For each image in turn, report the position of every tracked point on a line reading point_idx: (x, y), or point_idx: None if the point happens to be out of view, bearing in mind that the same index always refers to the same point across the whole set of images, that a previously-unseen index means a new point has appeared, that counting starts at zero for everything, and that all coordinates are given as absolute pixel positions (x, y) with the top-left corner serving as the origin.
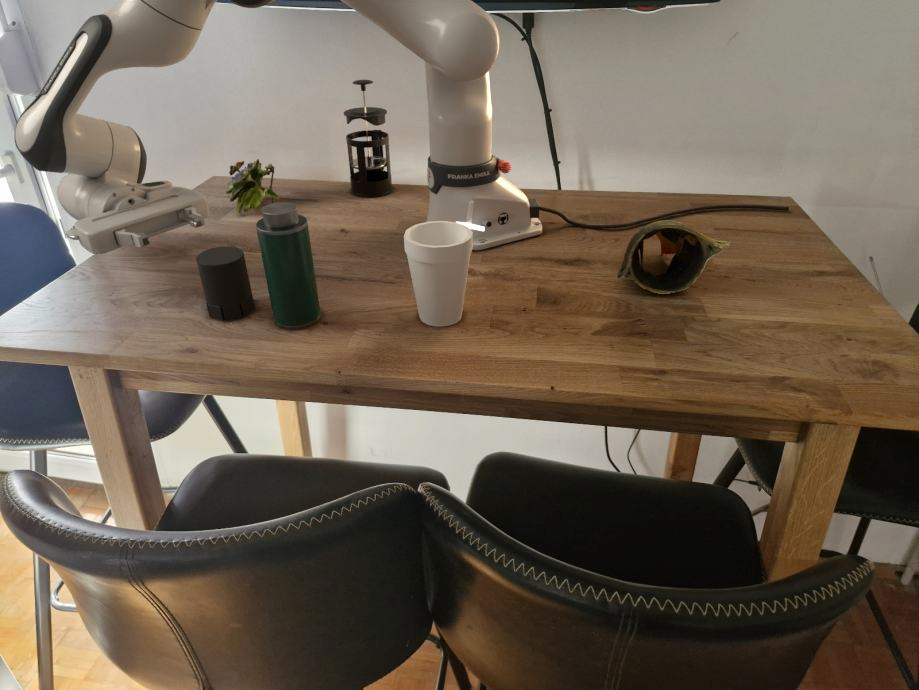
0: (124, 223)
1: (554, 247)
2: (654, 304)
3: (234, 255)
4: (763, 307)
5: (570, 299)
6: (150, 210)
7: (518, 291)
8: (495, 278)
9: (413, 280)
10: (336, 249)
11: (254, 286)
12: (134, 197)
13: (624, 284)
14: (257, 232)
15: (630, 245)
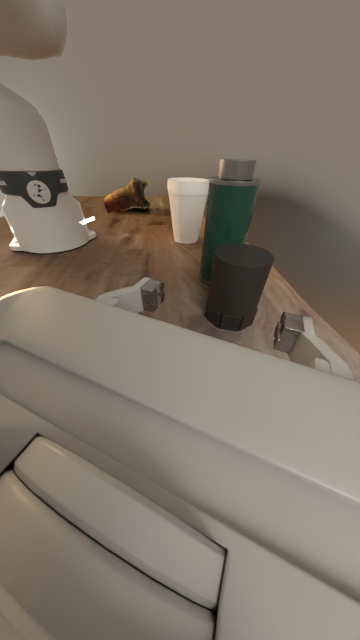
0: (309, 367)
1: (95, 223)
2: (156, 211)
3: (235, 246)
4: (153, 203)
5: (156, 220)
6: (171, 348)
7: (151, 227)
8: (137, 232)
9: (197, 215)
10: (76, 287)
11: (173, 316)
12: (72, 459)
13: (139, 214)
14: (255, 188)
15: (139, 191)
